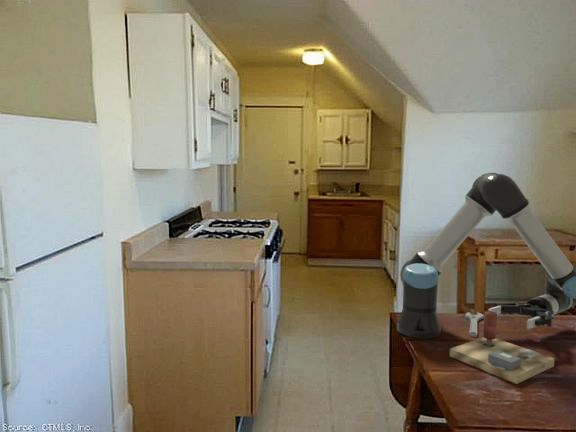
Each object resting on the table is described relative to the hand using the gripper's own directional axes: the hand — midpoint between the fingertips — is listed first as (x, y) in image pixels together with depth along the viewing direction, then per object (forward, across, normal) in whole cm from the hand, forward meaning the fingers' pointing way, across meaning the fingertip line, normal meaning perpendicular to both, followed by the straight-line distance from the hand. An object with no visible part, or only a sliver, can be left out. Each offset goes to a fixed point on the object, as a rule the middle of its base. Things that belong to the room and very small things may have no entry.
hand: (507, 318), depth 157 cm
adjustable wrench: (-8, +18, -10) cm, 22 cm away
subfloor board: (+13, -6, -9) cm, 17 cm away
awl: (+10, 0, -9) cm, 14 cm away
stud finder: (+19, -11, -7) cm, 23 cm away
